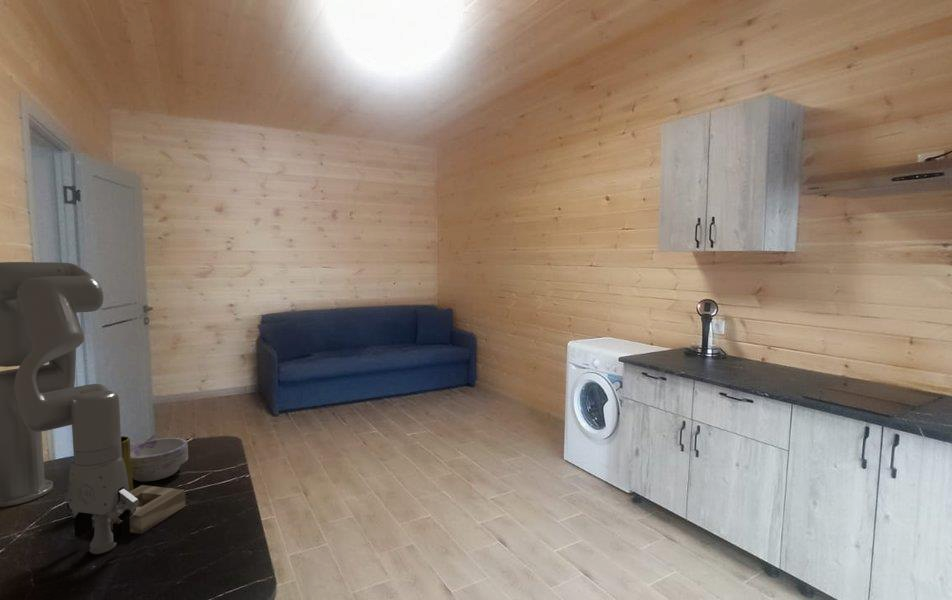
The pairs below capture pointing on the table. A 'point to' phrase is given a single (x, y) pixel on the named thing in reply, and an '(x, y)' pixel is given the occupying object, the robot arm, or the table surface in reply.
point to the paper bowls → (157, 458)
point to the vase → (127, 459)
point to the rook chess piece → (102, 535)
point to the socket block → (153, 506)
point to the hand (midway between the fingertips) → (102, 535)
